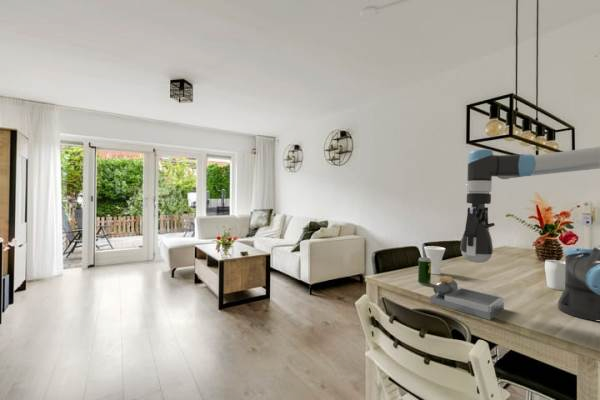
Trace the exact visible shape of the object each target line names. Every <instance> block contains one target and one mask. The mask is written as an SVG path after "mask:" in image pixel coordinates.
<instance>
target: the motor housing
mask: <svg viewBox="0 0 600 400" xmlns="http://www.w3.org/2000/svg"><path fill="white" fill-rule="evenodd" d="M433 292H434V294H432V295H431V296H429V297H430V300H429V303H430V304H433V305H436V306H437V305H438V306H441V307H444V308H447V309H451V310H453V311H458V312H461V313H464V314H466V315H467V314H468V315H471V316H475V317H478V318H481V319H485V320H488V321H491V320H492V319H494V318H495V317H496V316H497V315H498V314H499V312H500V313H502V311H503V310H504V308H505V302H504V297H502V296H499V295H495V294H490V293H485V292H481V291H476V290H473V289H469V288H464V287H458V283H457V281H455V280H454V279H453V277H452V276H449V275H443V276H440V277H439V282H438V283H436V284H435V285H434V286H433Z"/></svg>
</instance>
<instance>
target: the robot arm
mask: <svg viewBox="0 0 600 400" xmlns="http://www.w3.org/2000/svg"><path fill="white" fill-rule="evenodd" d="M467 158H468V159H467V183H465V186H466V192H468V193H467V194H466V204H471V207H467V212H466V213H467V214H466V221H465V222H466V223H465V229H464V231H465V234H464V233H463V234H464V236H467V252H466V255H471V256H476V237H475V235H476V231H477V226H478V222H479V221H480V220H481V221H483V222H484V223H485V224H489V207H488V206H487V207H486V205H490V204H491V202H492V194H491V192H492V186H493V185H492V182H493V181H492V178H493V177H497V178H499V179H501V180H509V179H513V178H514V179H515V178H523V177H531V176H533V177H535V176H543V175H550V174H560V173H569V172H570V173H571V172H579V171H589V170H598V169H600V146H595V147H587V148H580V149H573V150H565V151H558V152H551V153H542V154H536V155H535V154H534V155H533V154H523V153H522V154H505V155H504V154H501V155H497V154H494V151H493V150H492V149H485V148H484V149H483V148H482V149H474V150H471V151H470V152H469V153H468V157H467ZM488 230H489V233H490V227H489V228H488ZM564 258H565V262H566V263H565V289H564V290H562V293H561V295H560V297H559V298H558V302H557V308H558V309H559V311H561V312H563V313H564V314H566V315H570V316H573V317H576V318H579V317H580V319H583V318H584V320H587V319H590V320H589V321H592V320H600V245H595V246H594V247H593V249H592V248H591V249H590V248H577V247H575V248H574V247H569V248H567V249H566V250H565V255H564Z"/></svg>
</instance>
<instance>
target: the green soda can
mask: <svg viewBox="0 0 600 400" xmlns="http://www.w3.org/2000/svg"><path fill="white" fill-rule="evenodd" d="M417 272H418V273H417V274H418V275H417V283H418V284H419V285H421V284H422V285H421V286H430V285H431V283H432V279H431V278H432V274H431V259H430V258H427V256H426V257H424V256H421V257H418V271H417Z"/></svg>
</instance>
